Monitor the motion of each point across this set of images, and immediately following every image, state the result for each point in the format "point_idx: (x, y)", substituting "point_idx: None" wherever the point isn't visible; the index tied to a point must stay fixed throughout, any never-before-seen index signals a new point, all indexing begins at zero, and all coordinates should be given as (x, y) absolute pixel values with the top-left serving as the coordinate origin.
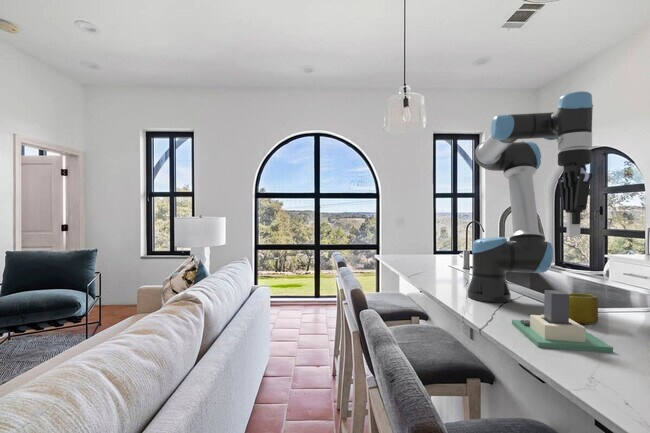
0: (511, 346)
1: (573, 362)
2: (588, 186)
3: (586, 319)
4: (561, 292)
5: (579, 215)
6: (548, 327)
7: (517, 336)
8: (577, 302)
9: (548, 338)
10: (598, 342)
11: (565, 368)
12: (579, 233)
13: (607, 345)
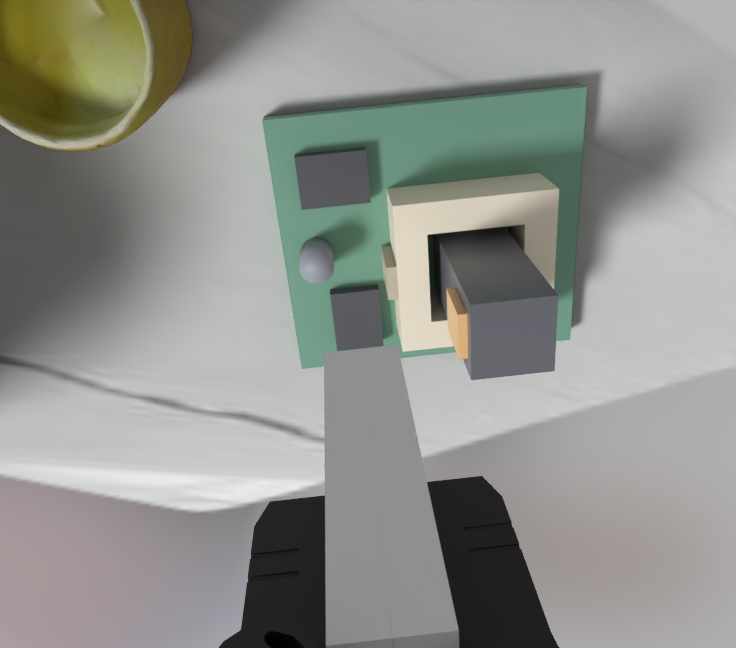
0: (570, 403)
1: (683, 263)
2: None
3: (189, 27)
4: (517, 317)
5: (536, 610)
6: None
7: (463, 369)
8: (162, 82)
9: None
10: (532, 119)
11: (729, 301)
12: (403, 376)
13: (564, 98)
